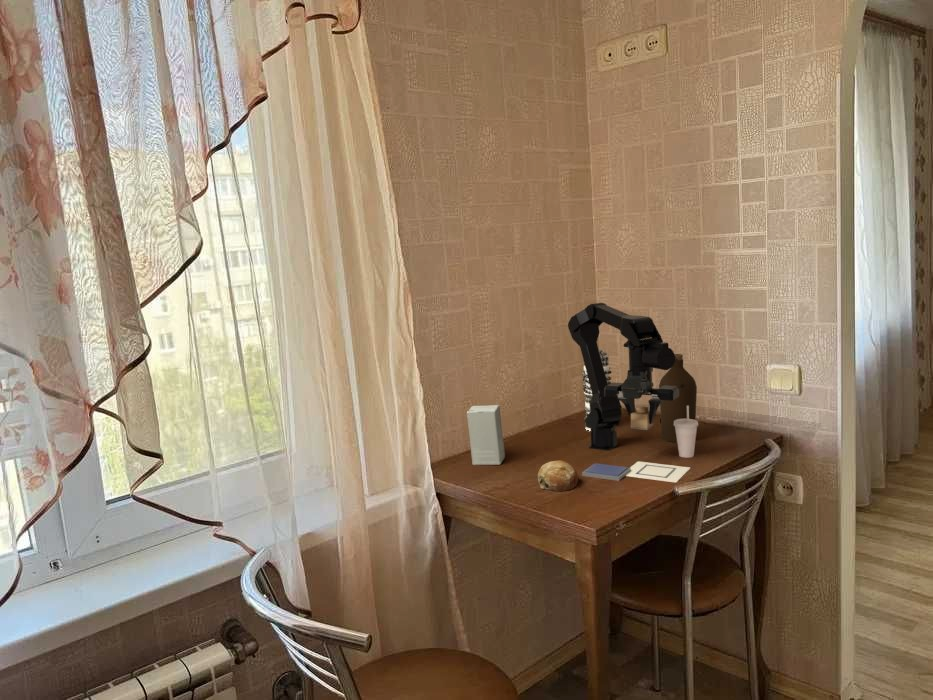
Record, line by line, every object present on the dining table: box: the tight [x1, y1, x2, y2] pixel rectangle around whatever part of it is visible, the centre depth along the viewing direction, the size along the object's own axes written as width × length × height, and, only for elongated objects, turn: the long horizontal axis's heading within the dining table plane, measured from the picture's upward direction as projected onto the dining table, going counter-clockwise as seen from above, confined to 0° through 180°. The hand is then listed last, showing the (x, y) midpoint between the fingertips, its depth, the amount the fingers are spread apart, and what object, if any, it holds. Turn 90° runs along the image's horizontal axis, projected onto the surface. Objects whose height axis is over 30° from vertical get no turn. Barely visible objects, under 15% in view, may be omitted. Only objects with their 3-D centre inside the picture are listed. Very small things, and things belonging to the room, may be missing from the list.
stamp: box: [630, 406, 654, 431], centre depth 191 cm, size 4×4×6 cm
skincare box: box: [466, 404, 506, 466], centre depth 200 cm, size 8×7×16 cm
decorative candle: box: [581, 349, 612, 432], centre depth 226 cm, size 9×9×25 cm
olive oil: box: [658, 353, 698, 443], centre depth 210 cm, size 11×11×25 cm
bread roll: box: [537, 460, 579, 492], centre depth 179 cm, size 10×10×8 cm
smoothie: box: [674, 406, 699, 459], centre depth 194 cm, size 6×6×14 cm
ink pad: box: [581, 463, 631, 482], centre depth 185 cm, size 10×8×1 cm
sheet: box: [624, 460, 691, 483], centre depth 184 cm, size 14×12×1 cm
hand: (641, 423), depth 191 cm, fingers closed on stamp, 4 cm apart
